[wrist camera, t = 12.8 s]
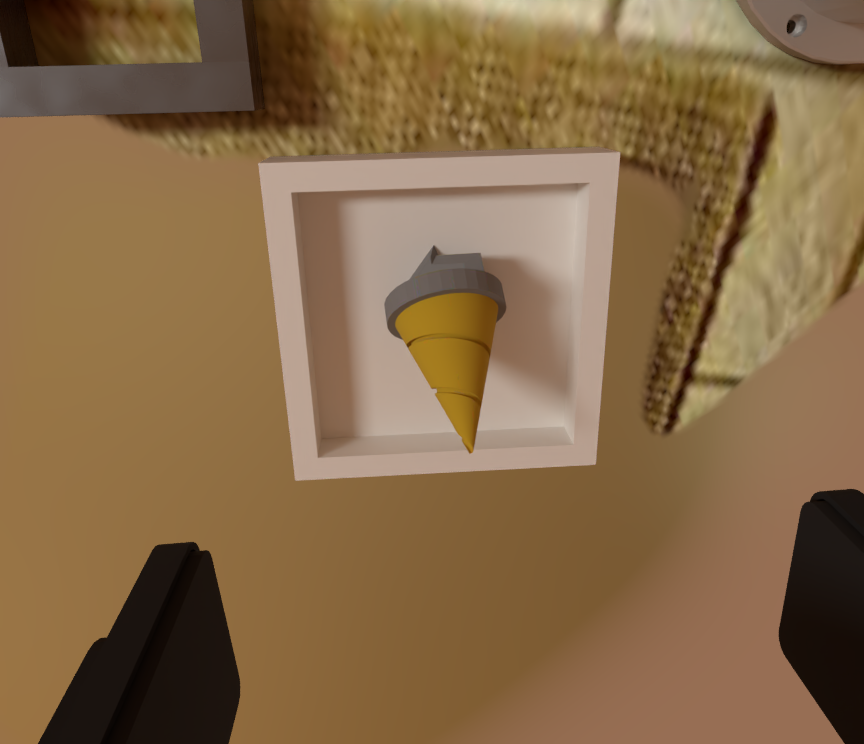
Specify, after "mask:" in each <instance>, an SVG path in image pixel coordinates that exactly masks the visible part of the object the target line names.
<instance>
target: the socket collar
mask: <svg viewBox="0 0 864 744" xmlns="http://www.w3.org/2000/svg"><path fill="white" fill-rule="evenodd" d="M194 6H195V13H196V21H197V28H198V35H199V42H200V49H201V56H202V63H161V64H119V65H76V66H38V63H37V59H36V54H35V50H34V45H33V41H32V36H31V32H30V28H29V23H28V19H27V14H26V10H25V5H24V1H23V0H0V117H28V116H29V117H30V116H66V115H105V114H142V113H179V112H217V111H254V110H261V109H265V107H264V98H263V89H262V80H261V71H260V62H259V53H258V44H257V35H256V26H255V17H254V8H253V0H194Z"/></svg>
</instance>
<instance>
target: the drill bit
mask: <svg viewBox="0 0 864 744" xmlns="http://www.w3.org/2000/svg"><path fill="white" fill-rule="evenodd" d="M384 306H385V314H386V321H387V328H388V330H389V331H390V333H391V334H392V335H394V336H395V337H397V338H399V339H402V340H403V341H404V342H405V344H406V346H407V347H408V349H409V351H410V353H411V355H412V356H413V358H414V360H415V361H416V363H417V365H418V367H419V368H420V370H421V372H422V373H423V375H424V377H425V379H426V380H427V382H428V384H429V385H430V387H431V389H437V393H435V396H436V397H437V399H438V401H439V403H440V404H441V406H442V408H443V409H444V411H445V413H446V415H447V416H448V418H449V420H450V421H451V423H452V425H453V427H454V428H455V430H456V432H457V433H458V435H459V436H461V437H462V442H463V444H464V445H465V447H466V449H467V450H468V452H469V454H471V453H473V450H474V444H475V439H476V433H477V428H478V422H479V416H480V409H481V405H482V399H483V394H484V388H485V382H486V377H487V371H488V365H489V358H490V354H491V348H492V343H493V337H494V331H495V326H496V323H497V322H498V321H499V320H500V319H501V318H502V317H503V315H504V314H505V311H506V302H505V297H504V293H503V288H502V283H501V282H500V281H499V279H498V278H497V277H495V276H494V275H492V274H490V273H488V272H485V271H484V267H483V262H482V257H481V253H467V254H450V255H438V253H437V251H436V249H435V246H434V245H433V247H432V248H431V250H430V251H429V252H428V254H427V255H426V257H425V258H424V259H423V261H422V262H421V264H420V265H419V266H418V268H417V269H416V271H415V272H414V273H413V275H412V276H411V278H410V279H409V280H408V281H405V282H404V283H402V284H401V285H399V286H397V287H396V288H395V289H394V290H393V291H391V292H390V294H389V295H388V296H387V298H386V300H385V303H384Z"/></svg>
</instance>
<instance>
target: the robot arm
mask: <svg viewBox="0 0 864 744" xmlns="http://www.w3.org/2000/svg"><path fill="white" fill-rule="evenodd" d="M736 1H737V3H738V4H739V6H740V8H741V9H742V11H743V12H744V14H745V16H746V17H747V19H748V20H749V22H750V23H751V24H752V25H753V26H754V27H755V28H756V29H757V30H758V31H759V32H760V33H761V34H762V35H763V37H764V38H765V39H766V40H767V41H768V42H770V43H772V44H773V45H775V46H777V47H778V48H780V49H781V50H783V51H785V52H786V53H788V54H789V55H792V56H795V57H798V58H801V59H804V60H807V61H810V62H813V63H824V64H836V65H843V64H855V63H864V0H736ZM788 22H789V23H790V29H789V31H788V32H787V23H788ZM779 641H780V645H781V648H782V651H783V653H784V655H785V657H786V658H787V660H788V661H789V663H790V664H791V666H792V667H793V669H794V670H795V671H796V673H797V675H798V676H799V677H800V679H801V680H802V682H803V683H804V685H805V686H806V688H807V689H808V690H809V692H810V694H811V695H812V696H813V698H814V699H815V701H816V702H817V704H818V705H819V707H820V708H821V710H822V711H823V712H824V714H825V716H826V717H827V718H828V720H829V721H830V723H831V724H832V726H833V727H834V729H835V730H836V732H837V733H838V735H839V736H840V737H841V739H842V740H843V742H844V743H845V744H864V494H863V493H861V492H860V491H858V490H855V489H847V490H833V491H822V492H817V493H815V494H814V495H813V496H812V498H811V500H810V502H806V503H805V504H804V505H803V506H802V509H801V512H800V518H799V523H798V529H797V534H796V540H795V545H794V550H793V556H792V562H791V567H790V572H789V578H788V583H787V589H786V595H785V600H784V605H783V611H782V616H781V622H780V627H779ZM239 698H240V679H239V674H238V669H237V665H236V661H235V656H234V652H233V647H232V643H231V639H230V634H229V630H228V626H227V621H226V617H225V613H224V608H223V604H222V600H221V595H220V591H219V587H218V582H217V578H216V574H215V569H214V565H213V561H212V557H211V554H210V552H209V551H207V550H205V551H200V550H199V547H198V546H197V544H196V543H194V542H186V543H174V544H162V545H157V546H155V548H154V549H153V550H152V552H151V554H150V556H149V558H148V560H147V562H146V564H145V565H144V567H143V569H142V571H141V573H140V575H139V577H138V579H137V581H136V583H135V585H134V587H133V589H132V590H131V592H130V594H129V596H128V598H127V600H126V602H125V604H124V606H123V608H122V610H121V612H120V614H119V615H118V617H117V619H116V621H115V623H114V625H113V627H112V629H111V631H110V633H109V635H108V637H107V638H100V639H99V640H97V641H96V642H94V644H93V645H92V646H91V648H90V649H89V650H88V652H87V654H86V656H85V658H84V660H83V661H82V663H81V665H80V667H79V669H78V671H77V673H76V674H75V676H74V678H73V680H72V682H71V684H70V685H69V687H68V689H67V691H66V693H65V695H64V696H63V698H62V700H61V702H60V704H59V706H58V708H57V709H56V711H55V713H54V715H53V717H52V719H51V721H50V722H49V724H48V726H47V728H46V730H45V732H44V734H43V735H42V737H41V739H40V741H39V743H38V744H228V743H229V740H230V736H231V732H232V728H233V723H234V720H235V715H236V712H237V708H238V704H239Z"/></svg>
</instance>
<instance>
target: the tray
mask: <svg viewBox="0 0 864 744" xmlns="http://www.w3.org/2000/svg"><path fill="white" fill-rule="evenodd" d="M619 163H620V152H617V151H614V150H610V149H606V148H602V147H580V148H547V149H513V150H480V151H447V152H414V153H381V154H347V155H314V156H281V157H269V158H267V159H265V160H263V161H262V162H260V163H258V165H259V173H260V182H261V190H262V199H263V207H264V216H265V225H266V233H267V242H268V249H269V259H270V268H271V276H272V284H273V293H274V302H275V310H276V319H277V327H278V335H279V345H280V353H281V362H282V370H283V378H284V386H285V395H286V404H287V413H288V422H289V430H290V439H291V447H292V456H293V464H294V472H295V480H314V479H333V478H351V477H371V476H389V475H408V474H428V473H447V472H465V471H484V470H502V469H520V468H521V469H522V468H541V467H558V466H559V467H560V466H578V465H595V464H596V456H597V455H596V454H597V443H598V430H599V418H600V404H601V392H602V378H603V367H604V366H603V365H604V354H605V341H606V328H607V316H608V303H609V290H610V276H611V265H612V252H613V239H614V226H615V214H616V201H617V188H618V176H619ZM433 245H434V246H435V249H436V251H437V253H438V255H450V254H467V253H481V257H482V262H483V267H484V271H485V272H488V273H490V274H492V275H494V276H495V277H497V278H498V279H499V281H500V282H501V283H502V288H503V293H504V297H505V302H506V311H505V314H504V315H503V317H502V318H501V319H500V320H499V321H498V322H497V323H496V326H495V331H494V337H493V343H492V348H491V354H490V358H489V365H488V371H487V377H486V382H485V388H484V394H483V399H482V405H481V409H480V416H479V422H478V428H477V433H476V439H475V444H474V450H473V453H471V454H469V452H468V450H467V449H466V447H465V445H464V444H463V442H462V437H461V436H459V435H458V433H457V432H456V430H455V428H454V427H453V425H452V423H451V421H450V420H449V418H448V416H447V415H446V413H445V411H444V409H443V408H442V406H441V404H440V403H439V401H438V399H437V397H436V396H435V393H437V389H431V387H430V385H429V384H428V382H427V380H426V379H425V377H424V375H423V373H422V372H421V370H420V368H419V367H418V365H417V363H416V361H415V360H414V358H413V356H412V355H411V353H410V351H409V349H408V347H407V346H406V344H405V342H404V341H403V340H402V339H399V338H397V337H395V336H394V335H392V334H391V333H390V331H389V330H388V328H387V321H386V314H385V306H384V303H385V300H386V298H387V296H388V295H389V294H390V292H391V291H393V290H394V289H395V288H396V287H397V286H399V285H401V284H402V283H404V282H405V281H408V280H409V279H410V278H411V276H412V275H413V273H414V272H415V271H416V269H417V268H418V266H419V265H420V264H421V262H422V261H423V259H424V258H425V257H426V255H427V254H428V252H429V251H430V250H431V248H432V247H433Z"/></svg>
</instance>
